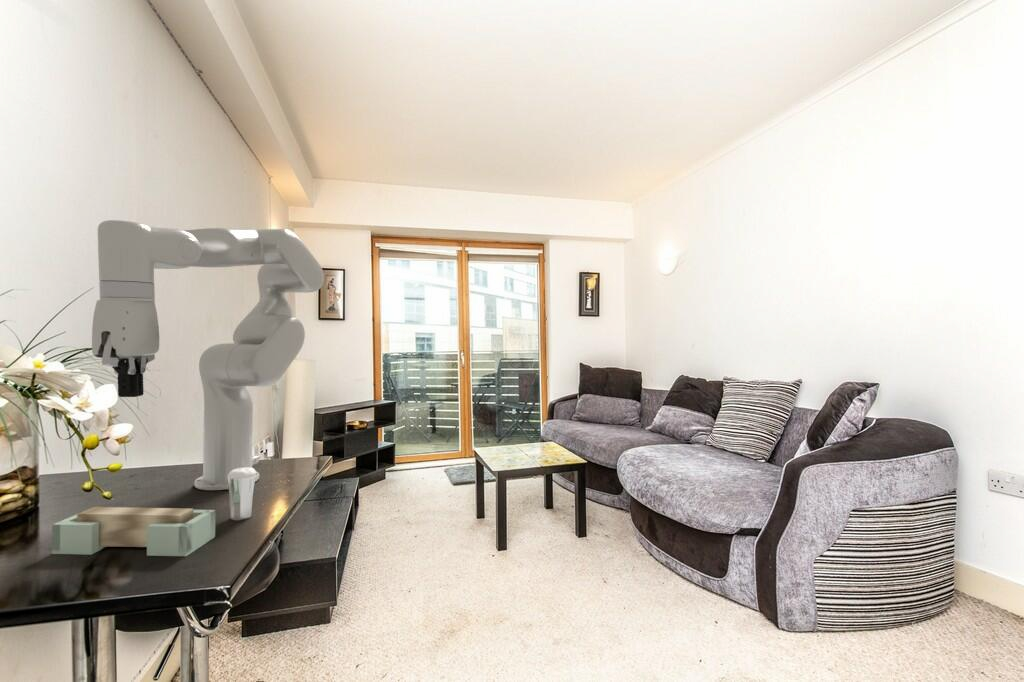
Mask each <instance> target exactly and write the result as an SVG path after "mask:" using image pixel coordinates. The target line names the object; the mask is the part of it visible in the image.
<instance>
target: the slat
mask: <svg viewBox="0 0 1024 682" xmlns="http://www.w3.org/2000/svg"><path fill="white" fill-rule="evenodd" d="M193 510H194V508H188V507H187V508H185V507H184V508H183V507H182V508H180V507H179V508H178V507H176V508H175V507H132V506H131V507H126V506H125V507H122V506H121V507H120V506H119V507H118V506H117V507H116V506H94V507H91V508H89V509H85V510H83V511H80V512H79V513H77V514H76V515H77V522H99V546H107V547H120V548H121V547H124V548H127V547H128V548H129V547H131V548H133V547H135V548H147V526H148V525H150V524H152V523H183V524H184V523H186V522H188V521H190V520H191V519H193Z"/></svg>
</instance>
